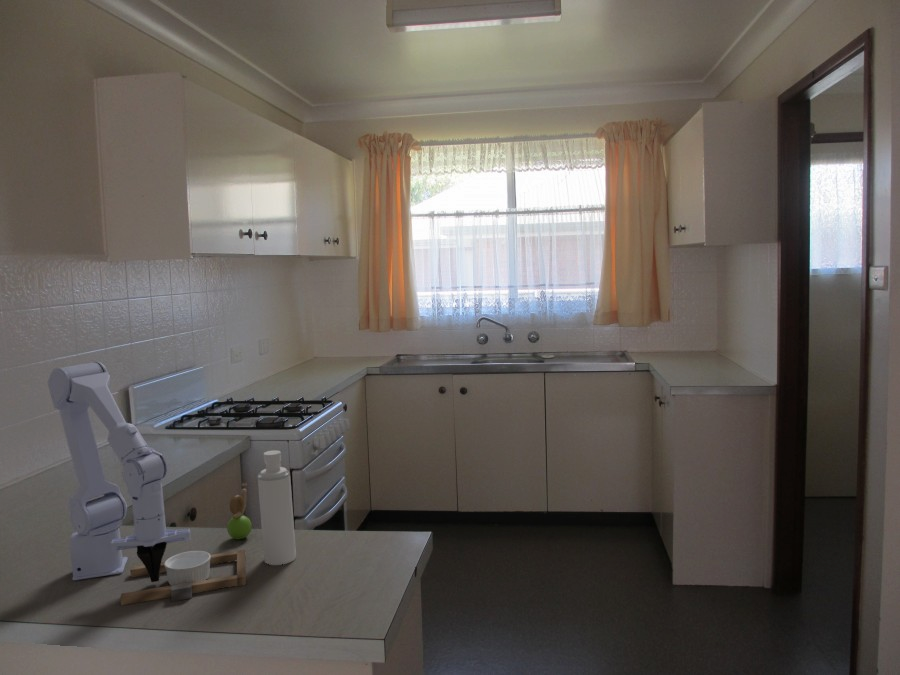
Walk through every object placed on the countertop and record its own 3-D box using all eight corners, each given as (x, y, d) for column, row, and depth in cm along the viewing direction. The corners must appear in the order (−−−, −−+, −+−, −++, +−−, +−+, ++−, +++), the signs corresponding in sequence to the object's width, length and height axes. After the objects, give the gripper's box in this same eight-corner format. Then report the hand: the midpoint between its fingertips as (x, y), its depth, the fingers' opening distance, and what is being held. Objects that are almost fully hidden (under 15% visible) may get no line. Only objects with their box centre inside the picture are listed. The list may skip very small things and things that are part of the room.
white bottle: (302, 555, 155) (294, 442, 152) (280, 567, 149) (271, 450, 147) (279, 550, 159) (271, 439, 156) (257, 562, 153) (248, 447, 150)
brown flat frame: (119, 610, 134) (118, 598, 134) (133, 570, 152) (132, 560, 151) (245, 589, 140) (244, 578, 140) (245, 553, 158) (244, 543, 158)
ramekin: (197, 566, 152) (195, 546, 152) (221, 576, 147) (219, 556, 146) (157, 582, 146) (155, 561, 145) (181, 593, 140) (179, 572, 140)
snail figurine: (259, 532, 169) (255, 483, 168) (244, 543, 163) (240, 492, 162) (238, 531, 171) (234, 482, 170) (223, 542, 165) (219, 491, 163)
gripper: (105, 526, 137) (112, 594, 139) (186, 515, 141) (192, 581, 143) (111, 514, 144) (118, 579, 145) (188, 504, 148) (194, 567, 149)
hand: (155, 579), depth 144 cm, fingers closed
